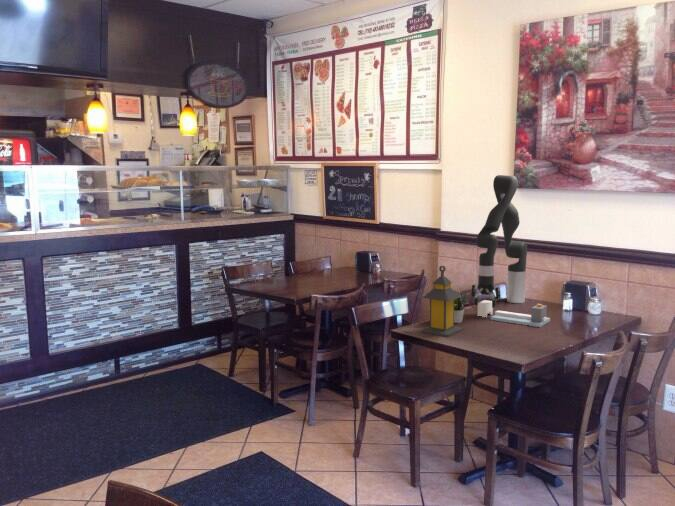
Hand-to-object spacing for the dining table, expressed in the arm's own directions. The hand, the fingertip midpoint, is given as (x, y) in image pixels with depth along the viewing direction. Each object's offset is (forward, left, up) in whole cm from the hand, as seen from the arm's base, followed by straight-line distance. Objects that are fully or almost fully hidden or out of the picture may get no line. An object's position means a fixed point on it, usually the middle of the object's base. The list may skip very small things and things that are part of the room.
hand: (485, 306), depth 299 cm
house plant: (+20, -5, -5) cm, 21 cm away
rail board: (0, +18, -5) cm, 18 cm away
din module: (0, 0, -5) cm, 5 cm away
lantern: (+38, -4, -5) cm, 38 cm away
